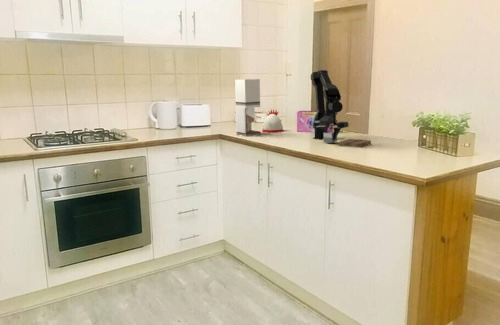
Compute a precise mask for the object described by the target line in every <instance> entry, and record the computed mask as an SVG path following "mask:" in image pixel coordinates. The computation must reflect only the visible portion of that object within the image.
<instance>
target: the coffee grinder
mask: <svg viewBox="0 0 500 325" xmlns="http://www.w3.org/2000/svg"><path fill="white" fill-rule="evenodd" d="M234 87H235V89H234V90H235V120H236V125H235V126H236V127H235V129H236V136H240V135H242V136H241V137H246V136H247V137H253V136H254V135H255V136H260V135H261V134H262V133H261V131H259V130H253V129H252V127H253V126H252V123H254V122H255V117H256V116H255V114H256V113H255V108H260V107H261V79H260V78H257V79H256V78H255V79H254V78H252V79H250V78H247V79H244V78H243V79H242V78H241V79H234Z"/></svg>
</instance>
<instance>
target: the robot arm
mask: <svg viewBox="0 0 500 325" xmlns="http://www.w3.org/2000/svg"><path fill="white" fill-rule="evenodd" d="M310 81H311V84H312V86H313V87H314V89H315V103H316V111H317V113H316V115H315V118H314V121H313V124H312V125H313V128H314V129H315V133H314V137H313V139H317V140H324V133H325V132H328V128H329V125H331V126H333V132H334V140H336V137H337V138H338V135H339V133H340V131H341V129H344V128H348V127H349V122H348V121H343V120H341V121H338V120H337V115H338V113H340V112H341V111H342V110H343V106H344V105H343V103H342V102H341V100H342V99H341V98H342V96H341V92H340V90H339V89H338V87H337V85H336V84H333V82H332V80H331V78H330V76H329V72H328V70H327V69H322V70H321V69H319V70H317V71H313V72H312V73H311V74H310Z"/></svg>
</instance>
